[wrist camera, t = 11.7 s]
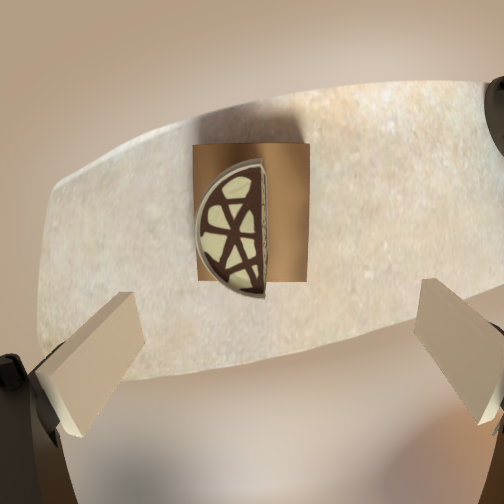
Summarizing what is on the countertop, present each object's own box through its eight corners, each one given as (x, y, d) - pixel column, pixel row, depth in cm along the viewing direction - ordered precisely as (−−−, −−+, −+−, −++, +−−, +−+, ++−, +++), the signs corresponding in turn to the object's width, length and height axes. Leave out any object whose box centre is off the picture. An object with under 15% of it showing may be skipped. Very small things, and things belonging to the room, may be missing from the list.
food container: (210, 162, 33) (184, 161, 24) (266, 160, 33) (261, 156, 23) (216, 268, 36) (195, 304, 27) (268, 268, 36) (264, 305, 26)
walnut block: (304, 146, 37) (309, 143, 32) (302, 268, 41) (306, 281, 36) (202, 147, 38) (192, 145, 33) (206, 267, 42) (198, 280, 37)
